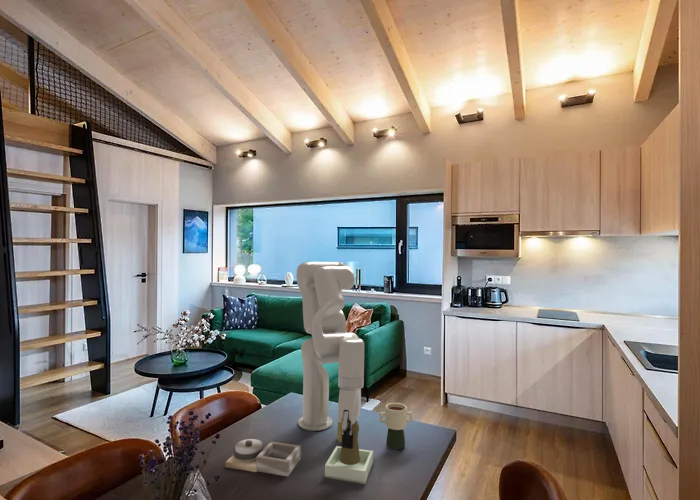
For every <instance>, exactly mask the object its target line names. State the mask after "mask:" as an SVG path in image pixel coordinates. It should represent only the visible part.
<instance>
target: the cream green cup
mask: <svg viewBox="0 0 700 500" xmlns="http://www.w3.org/2000/svg"><path fill="white" fill-rule="evenodd" d="M384 416H385V419H384ZM408 416H409V418H408ZM412 421H413V412H412V411H408V408H407V406H406V405H405V404H403V403H401V402H389V403H387V404H386V405H385V411H384V412H383V411H382V412H379V422H380V423H385V425H386V428H387V434H386V443H385V444H386V445H387V447H389V448H391V449H395V450H401V449H403V448H405V446H406V437H405V430H404V429H406V428H407V425H408V423H412Z"/></svg>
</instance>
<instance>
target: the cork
mask: <svg viewBox="0 0 700 500" xmlns="http://www.w3.org/2000/svg"><path fill="white" fill-rule="evenodd" d="M348 423H351V421H348ZM347 426H348V428H349V429H350V425H347ZM341 429H342V427H341ZM359 430H360V425H359V422H358V423H357V422H355V423H354V424H353V429H352V434H353V448H352V449H349V448H343V447H342V445H341V446H340V447H341V453H340V462H341V463H343V464H346V465H354V464H357V463H359V461H360V455H359V449H360V447H359V446H360V445H359V439H358V438H359V436H358V437H357V433H358V434H359V432H360V431H359Z"/></svg>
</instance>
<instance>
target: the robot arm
mask: <svg viewBox="0 0 700 500" xmlns="http://www.w3.org/2000/svg"><path fill="white" fill-rule="evenodd" d="M355 278H356V277H355V274H354V272H353V269H352V268H351V267H350V266H348V265H347V264H344V263H342V262H339V261H306V262H301V263H300V264H299V265H298V266H297V269H296V282H297V286H298V290H299V291H300V295H301V299H302V300H301V301H302V313H303V314H302V317H303V329H304V331H305V332H306V334H310V335H311V338H308V339H306V340H304V341H303V342H302V344H301V348H300V352H301V361H302V374H303V376H302V377H303V379H302V416H301V417H300V418H299V419H298V427H300V428H301V429H303V430H306V431H312V432H313V431H314V432H317V431H324V430H326V429H328V428H330V427H331V426H332V425H333V423H334V421H333V419H332V417H331V416H329V409H330V407H329V404H330V403H329V401H330V400H329V399H330V397H329V396H330V395H329V394H330V377H329V376H330V375H329V373H328V371H327V369H325V368H324V366H323V365H326V364H335V363H338V364H337V365H338V368H337V369H338V371H337V372H338V374H337V375H338V377H337V386H338V388H339V392H338V404H337V419H336V420H337V424H338V423H341V422H342V420H343V423H342V443H341V446H342V447H343V448H349V449H352V448H353V434H352V429H353V424H354V423H355V422H357V423H358V424H359V416H360V414H361V407H362V405H361V404H362V389H363V388H364V384H365V383H364V382H365V379H364V378H365V341H364V340H363V339H362V338H359V336H358V335H357V334H356V333H355V332H352V331H351V332H350V331H347V323H346V317H345V314H344V312H343V309H344V307H345V305H346V301H345V299H344V295H343V291H342V290H351V289H352V288H353V287H354V286H355V281H356V280H355ZM348 421H351V423H348ZM347 425H350V429H349V428H348V426H347ZM357 437H358V438H359V432H358V433H357Z"/></svg>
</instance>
